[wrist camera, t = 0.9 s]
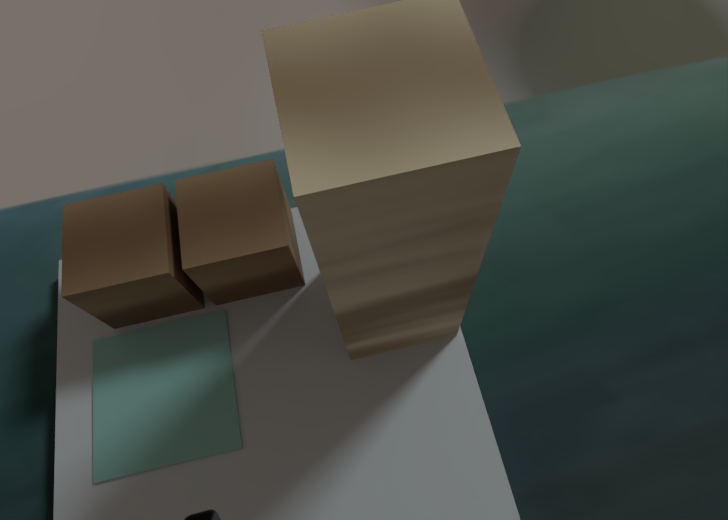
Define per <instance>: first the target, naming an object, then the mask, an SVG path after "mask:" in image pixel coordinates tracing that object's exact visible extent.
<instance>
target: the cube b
mask: <svg viewBox="0 0 728 520" xmlns="http://www.w3.org/2000/svg"><path fill="white" fill-rule="evenodd" d="M175 190H176V202H177V213H178V225H179V237H180V248H181V260H182V270H183V271H184V272H185V273H186V274H187V275H188V276H189V277H190V278H191V279H192V280H193V281H194V283H195V284H196V285H197V286H198V287H199V288H200V289H201V290H202V291H203V292H204V293H205V294H206V295H207V296H208V297H209V299H210V300H211V301H212V302H213V303H214V304H215V305H216V306H217V305H221V304H225V303H230V302H234V301H239V300H243V299H247V298H252V297H256V296H260V295H265V294H269V293H273V292H278V291H282V290H286V289H291V288H295V287H299V286H304V285H305V279H304V274H303V269H302V264H301V258H300V253H299V248H298V243H297V237H296V232H295V227H294V222H293V216H292V211H291V207H290V204H289V202H288V199H287V196H286V194H285V191H284V188H283V186H282V183H281V180H280V178H279V175H278V172H277V170H276V167H275V164H274V161H273V159H270V160H265V161H261V162H256V163H252V164H247V165H243V166H238V167H234V168H229V169H225V170H220V171H216V172H211V173H207V174H202V175H198V176H193V177H188V178H184V179H179V180H175Z"/></svg>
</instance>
